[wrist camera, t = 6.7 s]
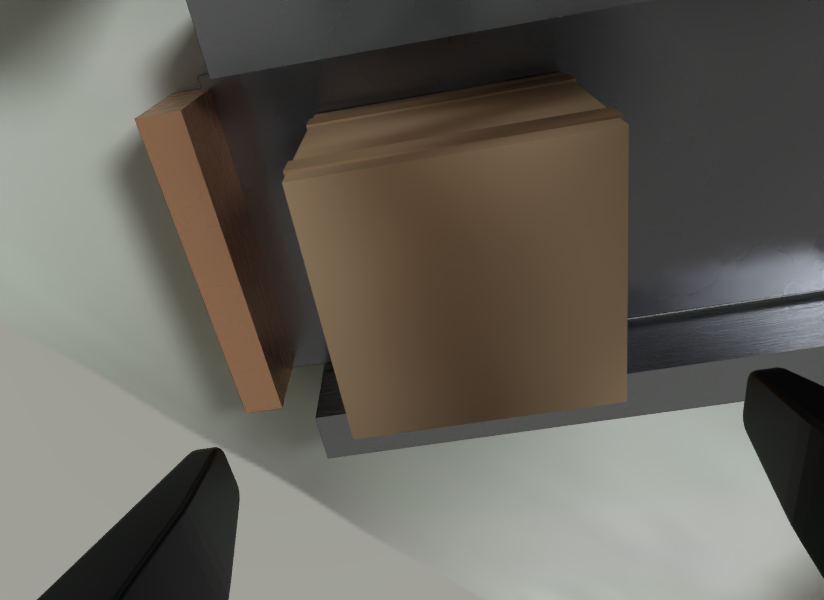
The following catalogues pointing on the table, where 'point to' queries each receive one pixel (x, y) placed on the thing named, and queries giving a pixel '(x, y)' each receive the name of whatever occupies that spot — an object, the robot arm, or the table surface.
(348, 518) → the table surface
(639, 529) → the table surface
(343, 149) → the brown block
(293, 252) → the bay
